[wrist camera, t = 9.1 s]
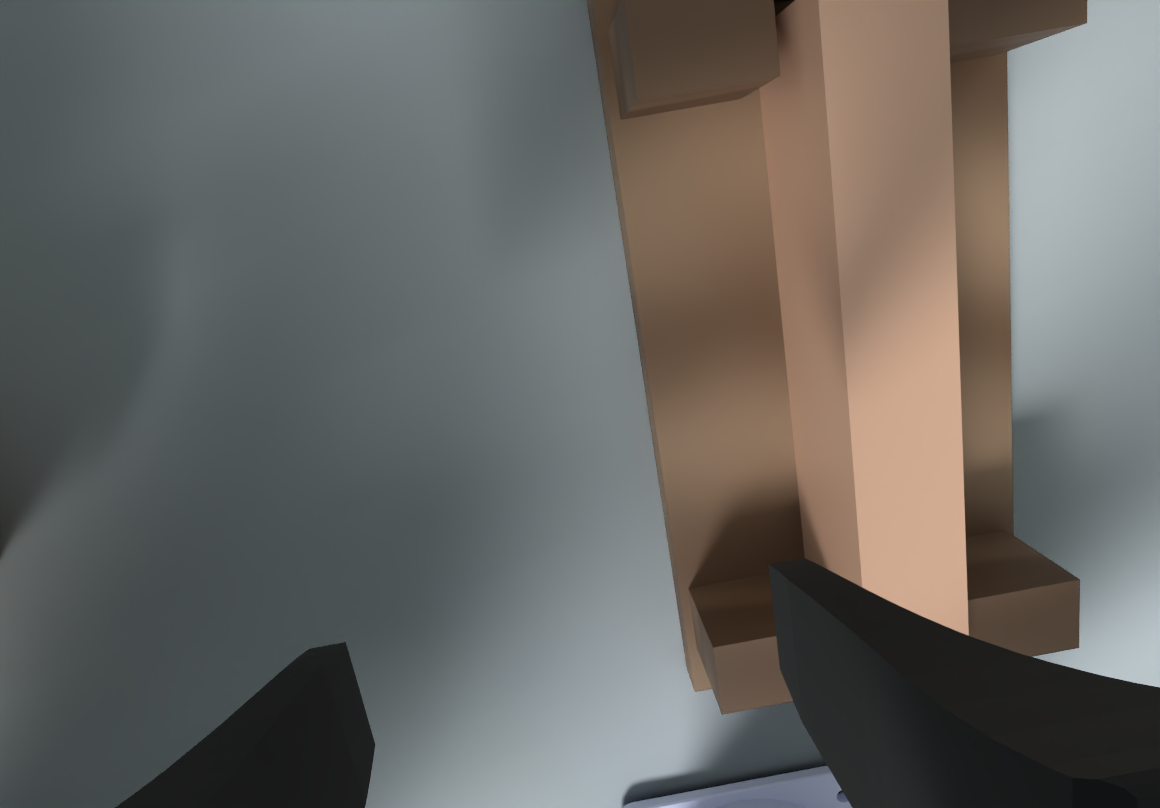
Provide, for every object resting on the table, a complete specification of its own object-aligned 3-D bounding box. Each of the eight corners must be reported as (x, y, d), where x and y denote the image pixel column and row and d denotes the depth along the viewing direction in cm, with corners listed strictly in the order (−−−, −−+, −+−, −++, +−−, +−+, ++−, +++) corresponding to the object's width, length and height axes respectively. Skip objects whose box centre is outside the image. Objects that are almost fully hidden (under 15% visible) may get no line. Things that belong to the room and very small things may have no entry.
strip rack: (990, 611, 23) (1087, 694, 19) (686, 668, 23) (719, 764, 19) (974, -86, 18) (1101, -175, 14) (584, -20, 18) (598, -90, 14)
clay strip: (892, 599, 22) (970, 683, 18) (810, 614, 21) (871, 702, 18) (855, 17, 17) (946, -41, 14) (754, 34, 17) (817, -19, 14)
